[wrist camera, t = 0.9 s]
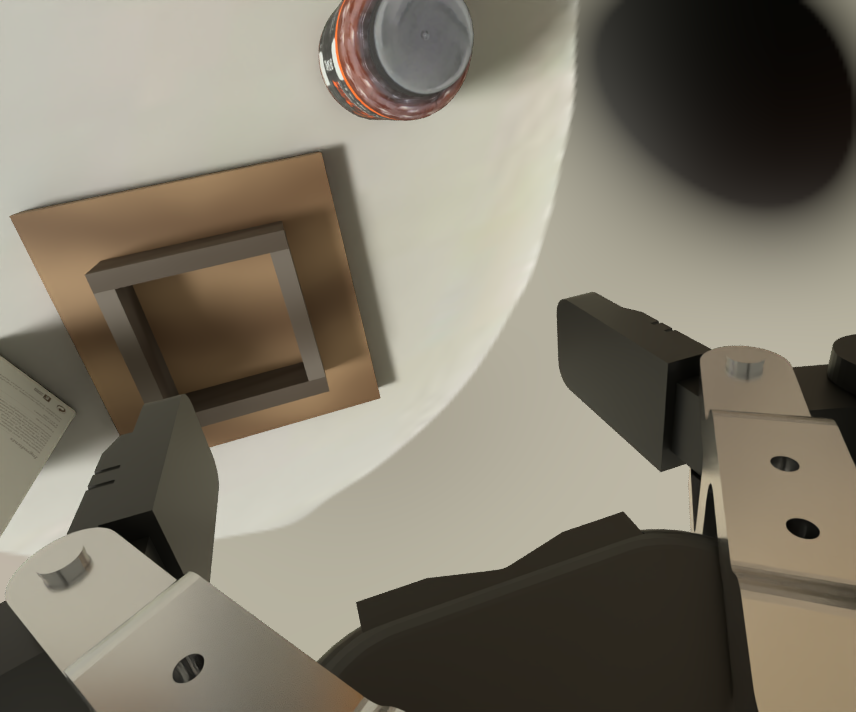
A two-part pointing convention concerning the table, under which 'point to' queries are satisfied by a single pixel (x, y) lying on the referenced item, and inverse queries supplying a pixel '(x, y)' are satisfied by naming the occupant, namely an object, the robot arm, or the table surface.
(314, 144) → the table surface
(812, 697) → the robot arm
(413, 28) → the supplement bottle
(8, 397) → the skincare box
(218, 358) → the cup holder
